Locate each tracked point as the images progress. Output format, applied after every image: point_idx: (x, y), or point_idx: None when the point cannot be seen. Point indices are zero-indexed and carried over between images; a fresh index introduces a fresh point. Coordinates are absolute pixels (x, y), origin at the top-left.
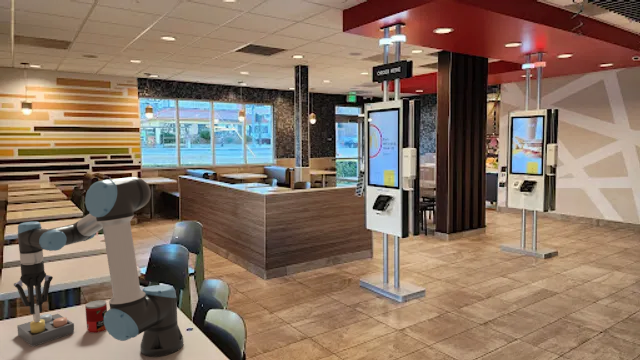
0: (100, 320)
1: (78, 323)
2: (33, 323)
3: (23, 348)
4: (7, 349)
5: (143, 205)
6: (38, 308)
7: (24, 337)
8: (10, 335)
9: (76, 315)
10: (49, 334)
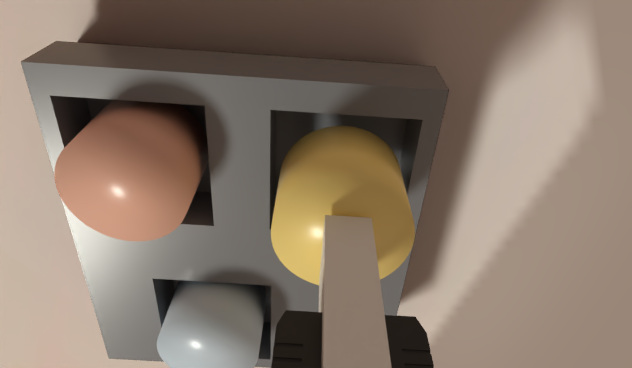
0: None
1: (16, 192)
2: (389, 229)
3: (478, 90)
4: (539, 172)
5: None
6: (334, 360)
7: None
8: None
9: (13, 316)
10: (281, 66)
